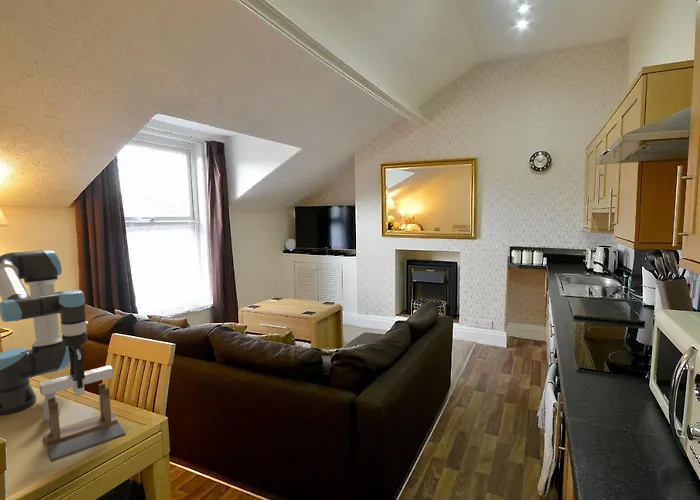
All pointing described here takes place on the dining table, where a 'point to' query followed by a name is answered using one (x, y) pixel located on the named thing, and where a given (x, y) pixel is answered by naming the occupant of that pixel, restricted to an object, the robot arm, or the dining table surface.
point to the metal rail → (68, 382)
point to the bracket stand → (81, 427)
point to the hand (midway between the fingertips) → (78, 393)
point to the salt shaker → (45, 408)
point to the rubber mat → (85, 441)
